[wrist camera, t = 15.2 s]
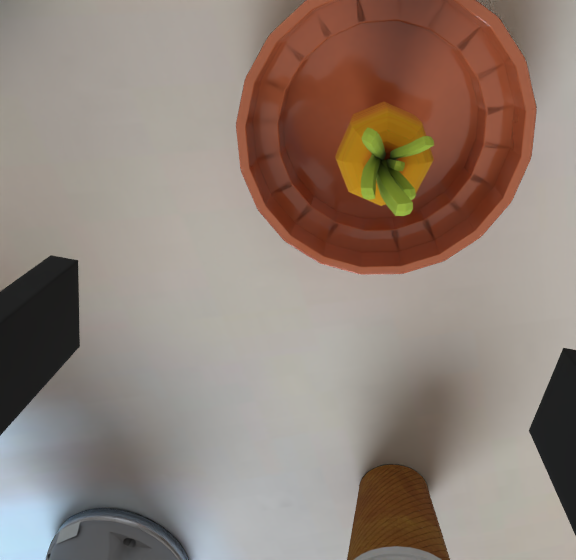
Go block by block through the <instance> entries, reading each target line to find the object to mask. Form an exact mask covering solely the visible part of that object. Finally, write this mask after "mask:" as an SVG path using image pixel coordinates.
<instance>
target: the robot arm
mask: <svg viewBox="0 0 576 560" xmlns="http://www.w3.org/2000/svg"><path fill="white" fill-rule="evenodd" d="M79 347H80V339H79V287H78V260H73V259H68V258H62V257H56V256H49V257H48V258H47V259H45V260H44V261H42V262H41V263H40V264H38V265H37V266H35V267H34V268H33V269H31V270H30V271H28V272H27V273H26V274H24V275H23V276H21V277H20V278H19V279H17V280H16V281H14V282H13V283H12V284H10V285H9V286H7V287H6V288H5V289H3V290H2V291H1V292H0V435H1V434H2V433H3V432H4V431H5V430H6V428H7V427H8V426H9V425H10V424H11V423H12V422H13V421H14V419H15V418H16V417H17V416H18V415H19V414H20V413H21V412H22V410H23V409H24V408H25V407H26V406H27V405H28V404H29V403H30V402H31V400H32V399H33V398H34V397H35V396H36V395H37V394H38V393H39V391H40V390H41V389H42V388H43V387H44V386H45V385H46V384H47V382H48V381H49V380H50V379H51V378H52V377H53V376H54V375H55V373H56V372H57V371H58V370H59V369H60V368H61V367H62V366H63V364H64V363H65V362H66V361H67V360H68V359H69V358H70V357H71V356H72V354H73V353H74V352H75V351H76V350H77V349H78V348H79ZM529 432H530V434H531V436H532V438H533V441H534V443H535V445H536V447H537V450H538V452H539V454H540V456H541V459H542V461H543V463H544V465H545V468H546V470H547V472H548V474H549V477H550V479H551V481H552V483H553V486H554V488H555V490H556V492H557V495H558V497H559V499H560V502H561V504H562V506H563V508H564V511H565V513H566V515H567V517H568V520H569V522H570V524H571V526H572V529H573V531H574V533H575V535H576V350H572V349H567V348H563V350H562V353H561V355H560V357H559V360H558V362H557V365H556V367H555V369H554V372H553V374H552V377H551V379H550V381H549V384H548V386H547V389H546V391H545V393H544V396H543V398H542V400H541V403H540V405H539V408H538V410H537V412H536V415H535V417H534V420H533V422H532V424H531V427H530V429H529ZM46 560H189V559H188V557H187V555H186V553H185V551H184V549H183V548H182V546H181V545H180V544H179V542H178V541H177V540H176V539H175V538H174V537H173V536H172V535H171V534H170V533H169V532H167V531H166V530H165V529H164V528H162V527H161V526H159V525H158V524H156V523H154V522H152V521H151V520H149V519H146V518H144V517H142V516H139V515H136V514H134V513H130V512H126V511H122V510H115V509H93V510H88V511H84V512H81V513H78V514H76V515H74V516H72V517H70V518H69V519H68V520H66V521H65V522H64V523H63V524H62V526H61V527H60V528H59V530H58V532H57V533H56V535H55V537H54V538H53V540H52V542H51V544H50V547H49V549H48V552H47V556H46Z"/></svg>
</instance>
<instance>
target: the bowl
mask: <svg viewBox="0 0 576 560" xmlns="http://www.w3.org/2000/svg"><path fill="white" fill-rule="evenodd" d="M381 102H387V103H389V104H391V105H393V106H396V107H398V108H400V109H402V110H405V111H407V112H409V113H411V114H413V115H415V116H416V117H417V118H418V119H419V120H420V121H421V122H422V124H423V127H424V130H425V133H426V136H430V137H432V139H433V140H434V146H432V147H431V148H430V149H431V152H432V155H433V158H434V160H433V162H432V164H431V166H430V168H429V170H428V172H427V174H426V176H425V177H424V179H423V181H422V183H421V185H420V187H419V189H418V191H417V193H416V196H415V198H414V199H413V200H411V201H412V202H413V210H412V211H411V213H410V214H408V215H405V216H395V215H394V214H393V212H392V211H391V210H390V209H389V208H388V206H387V205H383V206H380V205H378V204H375V203H373V202H371V201H368V200H366V199H364V198H362V197H359V196H357V195H355V194H352V193H350V192H348V189H347V187H346V184H345V182H344V179H343V176H342V174H341V171H340V169H339V166H338V163H337V161H336V158H335V156H336V153H337V150H338V147H339V145H340V143H341V141H342V138H343V136H344V134H345V132H346V129H347V127H348V125H349V123H350V120H351V118H352V116H353V114H354V113H357V112H359V111H362V110H364V109H367V108H369V107H371V106H374V105H376V104H379V103H381ZM536 108H537V107H536V103H535V98H534V94H533V89H532V85H531V80H530V76H529V71H528V67H527V62H526V59H525V57H524V56H523V54H522V53H521V51H520V50H519V48H518V46H517V45H516V43H515V42H514V40H513V39H512V37H511V35H510V34H509V32H508V31H507V29H506V28H505V26H504V25H503V23H502V21H501V20H500V18H498V16H497V15H495V14H494V13H493V12H491V11H490V10H488V9H487V8H486V7H484V6H483V5H482V4H480V3H479V2H478V1H476V0H306V1H305V2H303V3H302V4H301V5H300V6H299V7H298V8H297V9H296V10H295V11H294V12H293V13H292V14H291V15H290V16H289V17H288V18H286V19H285V20H284V21H283V22H282V23H281V24H280V25H279V26H278V27H277V28H276V29H275V30H274V31H273V32H272V33H271V34H270V35H269V36H268V38H267V40H266V41H265V43H264V45H263V47H262V49H261V51H260V52H259V54H258V56H257V58H256V60H255V61H254V63H253V65H252V67H251V69H250V70H249V72H248V74H247V76H246V79H245V81H244V86H243V91H242V96H241V101H240V106H239V111H238V116H237V121H236V131H237V141H238V150H239V160H240V169H241V172H242V175H243V177H244V179H245V182H246V184H247V186H248V189H249V191H250V193H251V195H252V198H253V200H254V202H255V205H256V207H257V209H258V211H259V212H260V213H261V214H262V215H263V217H264V218H265V219H266V220H267V221H268V222H269V224H270V225H271V226H272V227H273V228H274V229H275V231H276V232H277V233H278V234H279V235H280V236H281V238H282V239H283V240H284V241H286V242H287V243H288V244H290V245H291V246H293V247H295V248H296V249H298V250H299V251H301V252H302V253H304V254H306V255H307V256H309V257H310V258H312V259H314V260H315V261H317V262H318V263H320V264H324V265H327V266H331V267H334V268H338V269H341V270H345V271H349V272H352V273H356V274H361V275H366V274H404V273H407V272H410V271H413V270H417V269H420V268H423V267H426V266H430V265H433V264H436V263H440V262H443V261H445V260H446V259H448V258H450V257H451V256H453V255H454V254H456V253H457V252H459V251H460V250H462V249H463V248H465V247H466V246H468V245H470V244H471V243H473V242H474V241H476V240H477V239H479V238H480V237H481V236H482V235H483V234H484V233H485V232H486V231H487V230H488V228H489V227H490V226H491V225H492V224H493V223H494V221H495V220H496V219H497V218H498V217H499V216H500V215H501V213H502V212H503V211H504V210H505V209H506V208H507V206H508V205H509V204H510V203H511V201H512V200H513V198H514V195H515V193H516V191H517V189H518V186H519V184H520V182H521V180H522V177H523V175H524V173H525V171H526V168H527V166H528V164H529V162H530V159H531V158H530V157H531V156H532V147H533V138H534V129H535V121H536V112H537V110H536Z"/></svg>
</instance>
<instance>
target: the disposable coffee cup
mask: <svg viewBox="0 0 576 560" xmlns="http://www.w3.org/2000/svg"><path fill="white" fill-rule="evenodd" d="M433 508H434V507H433V504H432V500H431V498H430V494H429V491H428V488H427V484H426V482H425V480H424V479H423V477H422V476H421V475H420V474H418V473H417V472H416V471H414V470H413V469H410V468H408V467H405V466H400V465H383V466H379V467H376V468H374V469H372V470H371V471H369V472H368V473H367V474H366V475H365V476H364V477H363V478H362V480H361V482H360V485H359V492H358V499H357V505H356V511H355V516H354V522H353V528H352V534H351V540H350V546H349V552H348V558H347V560H450V558H448V557H449V555H448V552H447V548H446V545H445V542H444V539H443V536H442V533H441V529H440V526H439V523H438V520H437V517H436V513H435V510H434V509H433Z"/></svg>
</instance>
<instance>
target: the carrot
mask: <svg viewBox="0 0 576 560" xmlns="http://www.w3.org/2000/svg"><path fill="white" fill-rule="evenodd" d="M432 146H434V140H433V139H432V137H430V136H426V133H425V130H424V127H423V124H422V122H421V121H420V120H419V119H418V118H417V117H416V116H415V115H413V114H411V113H409V112H407V111H405V110H402V109H400V108H398V107H396V106H393V105H391V104H389V103H387V102H381V103H379V104H376V105H374V106H371V107H369V108H367V109H364V110H362V111H359V112H357V113H354V114H353V116H352V118H351V120H350V123H349V125H348V127H347V129H346V132H345V134H344V136H343V138H342V141H341V143H340V145H339V147H338V150H337V153H336V156H335V158H336V161H337V163H338V166H339V169H340V171H341V174H342V176H343V179H344V182H345V184H346V187H347V189H348V192H350V193H352V194H355V195H357V196H359V197H362V198H364V199H366V200H368V201H371V202H373V203H375V204H378V205H380V206H383V205H387V206H388V208H389V209H390V210H391V211H392V212H393V214H394V215H395V216H405V215H408V214H410V213H411V211H412V210H413V202H412V201H411V200H413V199H414V198H415V196H416V193H417V191H418V189H419V187H420V185H421V183H422V181H423V179H424V177H425V176H426V174H427V172H428V170H429V168H430V166H431V164H432V162H433V160H434V158H433V155H432V152H431V149H430V148H431V147H432Z"/></svg>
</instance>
